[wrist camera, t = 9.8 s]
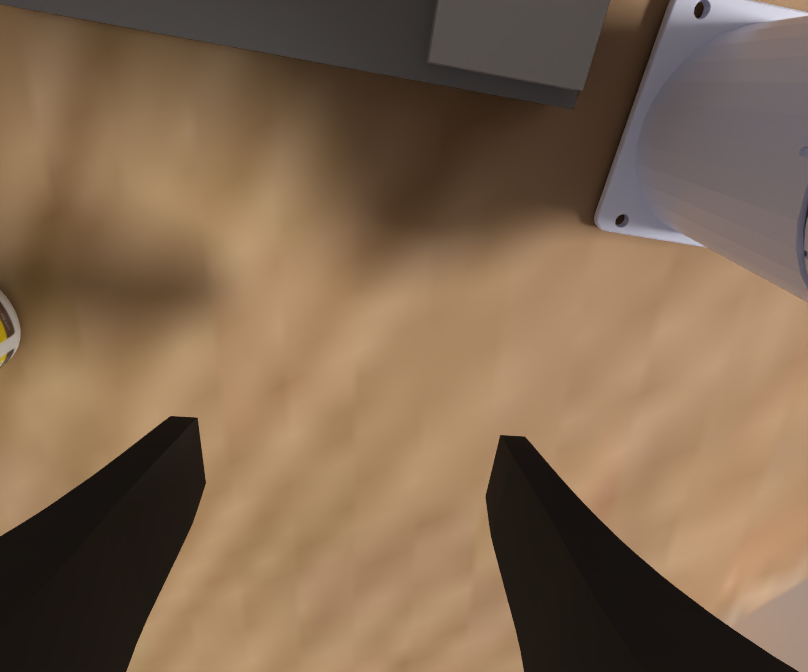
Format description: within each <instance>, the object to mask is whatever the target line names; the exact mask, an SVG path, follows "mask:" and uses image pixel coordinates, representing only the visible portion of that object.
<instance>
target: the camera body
mask: <svg viewBox="0 0 808 672" xmlns="http://www.w3.org/2000/svg"><path fill="white" fill-rule="evenodd" d="M609 2H610V0H0V4H3V5H8V6H13V7H19V8H24V9H29V10H35V11H40V12H46V13H51V14H56V15H62V16H67V17H73V18H78V19H84V20H89V21H95V22H100V23H105V24H111V25H116V26H122V27H127V28H133V29H138V30H143V31H149V32H154V33H160V34H165V35H171V36H176V37H181V38H187V39H192V40H198V41H203V42H209V43H214V44H220V45H225V46H230V47H236V48H241V49H247V50H252V51H258V52H263V53H268V54H274V55H279V56H285V57H290V58H296V59H301V60H306V61H312V62H317V63H323V64H328V65H334V66H339V67H345V68H350V69H355V70H361V71H366V72H372V73H377V74H383V75H388V76H393V77H399V78H404V79H410V80H415V81H421V82H426V83H431V84H437V85H442V86H448V87H453V88H459V89H464V90H470V91H475V92H480V93H486V94H491V95H497V96H502V97H508V98H513V99H518V100H524V101H529V102H535V103H540V104H546V105H551V106H557V107H563V108H568V109H574V106H575V103H576V99H577V96H578V93H579V90H583V89H584V85H585V82H586V79H587V76H588V72H589V69H590V66H591V62H592V59H593V56H594V52H595V49H596V46H597V42H598V39H599V36H600V32H601V29H602V26H603V22H604V19H605V16H606V12H607V9H608V6H609Z"/></svg>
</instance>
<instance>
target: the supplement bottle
mask: <svg viewBox="0 0 808 672" xmlns="http://www.w3.org/2000/svg"><path fill="white" fill-rule="evenodd" d="M20 335H21V332H20V324H19V320H18V317H17V314H16V312H15V310H14V308H13V306H12V304H11V303H10V301H9V300H8V298H7V297H6V296H5V294H4V293H3V292H2V291H1V290H0V368H1V367H2V366H3V365H4V364H6V363H7V362H8V361H9V360H10V359H11V358H12V357H13V355H14V354H15V352H16V350H17V348H18V346H19V342H20Z"/></svg>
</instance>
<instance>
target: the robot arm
mask: <svg viewBox="0 0 808 672" xmlns="http://www.w3.org/2000/svg"><path fill="white" fill-rule="evenodd" d="M698 2H701V3H702V4H703V6H704V10H703V13H702V15H701V17H700V18H698V19H697V18H696V17H695V15H694V8H695V6H696V4H697V3H698ZM622 214H624V215H625V219H624V221H623V222H622V223H621V224H619V225H616V224H615V221H616V219H617V217H618V216H620V215H622ZM594 222H595V224H596V226H597V227H598V228H600V229H601V230H604V231H608V232H614V233H620V234H627V235H633V236H639V237H645V238H651V239H657V240H664V241H670V242H676V243H682V244H688V245H694V246H701V247H707V248H709V249H711V250H713V251H714V252H716V253H718V254H720V255H722V256H724V257H725V258H727V259H729V260H731V261H733V262H735V263H736V264H738V265H740V266H742V267H744V268H746V269H747V270H749V271H751V272H753V273H755V274H757V275H758V276H760V277H762V278H764V279H766V280H768V281H769V282H771V283H773V284H775V285H777V286H779V287H780V288H782V289H784V290H786V291H788V292H790V293H791V294H793V295H795V296H797V297H799V298H801V299H802V300H804V301H806V302H808V12H804V11H800V10H795V9H790V8H786V7H781V6H776V5H771V4H767V3H762V2H757V1H753V0H670V2H669V4H668V6H667V9H666V12H665V15H664V18H663V21H662V23H661V26H660V29H659V32H658V35H657V38H656V41H655V43H654V46H653V49H652V52H651V55H650V58H649V61H648V64H647V66H646V69H645V72H644V75H643V78H642V81H641V84H640V86H639V89H638V92H637V95H636V98H635V101H634V104H633V106H632V109H631V112H630V115H629V118H628V121H627V124H626V127H625V129H624V132H623V135H622V138H621V141H620V144H619V147H618V149H617V152H616V155H615V158H614V161H613V164H612V167H611V169H610V172H609V175H608V178H607V181H606V184H605V187H604V190H603V192H602V195H601V198H600V201H599V204H598V207H597V210H596V212H595V216H594ZM205 484H206V480H205V473H204V465H203V457H202V449H201V441H200V433H199V426H198V418H194V417H176V416H170V417H169V418H168V419H166V420H165V421H164V422H162V423H161V424H160V425H158V426H157V427H156V428H154V429H153V430H152V431H151V432H149V433H148V434H147V435H145V436H144V437H143V438H142V439H140V440H139V441H138V442H137V443H135V444H134V445H133V446H131V447H130V448H129V449H127V450H126V451H125V452H124V453H122V454H121V455H120V456H118V457H117V458H116V459H114V460H113V461H112V462H110V463H109V464H108V465H106V466H105V467H104V468H102V469H101V470H100V471H98V472H97V473H96V474H94V475H93V476H92V477H90V478H89V479H87V480H86V481H84V482H83V483H82V484H80V485H79V486H77V487H76V488H74V489H73V490H71V491H70V492H69V493H67V494H66V495H64V496H63V497H61V498H60V499H58V500H57V501H56V502H54V503H53V504H51V505H50V506H48V507H47V508H45V509H44V510H42V511H41V512H39V513H38V514H36V515H35V516H33V517H31V518H30V519H28V520H27V521H25V522H23V523H22V524H20V525H18V526H17V527H15V528H13V529H12V530H10V531H8V532H7V533H5V534H3V535H2V536H0V672H126V671H127V668H128V665H129V663H130V660H131V657H132V655H133V652H134V649H135V646H136V644H137V641H138V639H139V637H140V634H141V632H142V630H143V627H144V625H145V623H146V620H147V618H148V616H149V614H150V612H151V610H152V608H153V606H154V604H155V602H156V599H157V597H158V595H159V593H160V591H161V589H162V587H163V585H164V583H165V581H166V579H167V577H168V574H169V572H170V570H171V568H172V566H173V564H174V562H175V560H176V558H177V556H178V554H179V551H180V549H181V547H182V545H183V543H184V541H185V539H186V537H187V534H188V532H189V530H190V528H191V526H192V523H193V521H194V518H195V515H196V512H197V509H198V506H199V503H200V500H201V497H202V494H203V490H204V487H205ZM486 504H487V512H488V519H489V526H490V532H491V538H492V542H493V546H494V550H495V554H496V558H497V561H498V565H499V569H500V573H501V576H502V580H503V584H504V588H505V591H506V595H507V599H508V603H509V606H510V610H511V614H512V618H513V621H514V625H515V629H516V633H517V637H518V642H519V646H520V651H521V656H522V662H523V668H524V672H798V671H797V670H795V669H794V668H792V667H790V666H789V665H787V664H785V663H784V662H782V661H780V660H779V659H777V658H776V657H774V656H772V655H771V654H769V653H768V652H766V651H765V650H763V649H762V648H760V647H759V646H757V645H756V644H754V643H753V642H751V641H750V640H748V639H747V638H745V637H744V636H742V635H741V634H739V633H738V632H736V631H735V630H733V629H732V628H731V627H729V626H728V625H726V624H725V623H723V622H722V621H721V620H719V619H718V618H716V617H715V616H714V615H712V614H711V613H709V612H708V611H707V610H705V609H704V608H703V607H701V606H700V605H699V604H697V603H696V602H695V601H693V600H692V599H691V598H689V597H688V596H687V595H686V594H684V593H683V592H682V591H680V590H679V589H678V588H676V587H675V586H674V585H673V584H671V583H670V582H669V581H668V580H666V579H665V578H664V577H663V576H661V575H660V574H659V573H658V572H656V571H655V570H654V569H653V568H652V567H651V566H650V565H648V564H647V563H646V562H645V561H644V560H643V559H641V558H640V557H639V556H638V555H637V554H636V553H634V552H633V551H632V550H631V549H630V548H629V547H628V546H627V545H626V544H624V543H623V542H622V541H621V540H620V539H619V538H618V537H617V536H616V535H615V534H614V533H613V532H612V531H611V530H610V529H609V528H608V527H607V526H606V525H605V524H604V523H603V522H602V521H601V520H600V519H599V518H598V517H596V516H595V514H594V513H593V512H592V511H591V510H590V509H589V508H588V507H587V506H586V505H585V504H584V503H583V502H582V501H581V500H580V499H579V498H578V497H577V496H576V494H575V493H574V492H573V491H572V490H571V489H570V488H569V487H568V486H567V485H566V483H565V482H564V481H563V480H562V479H561V478H560V477H559V476H558V474H557V473H556V472H555V471H554V470H553V469H552V468H551V466H550V465H549V464H548V463H547V462H546V461H545V459H544V458H543V457H542V456H541V455H540V454H539V452H538V451H537V450H536V449H535V448H534V447H533V445H532V444H531V443H530V442H529V441H528V440H527V439H526V437H522V436H505V435H500V439H499V443H498V447H497V451H496V455H495V460H494V464H493V468H492V472H491V476H490V480H489V484H488V489H487V493H486Z"/></svg>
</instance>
